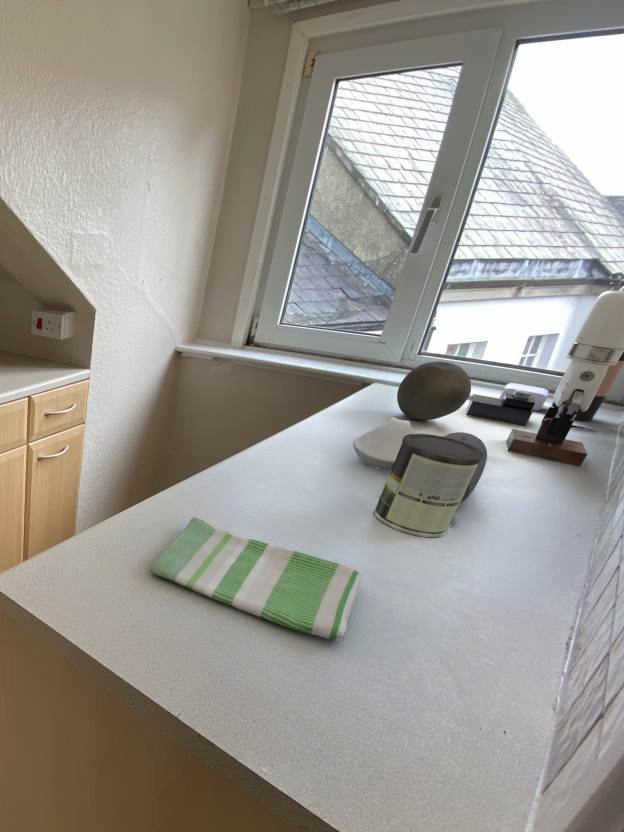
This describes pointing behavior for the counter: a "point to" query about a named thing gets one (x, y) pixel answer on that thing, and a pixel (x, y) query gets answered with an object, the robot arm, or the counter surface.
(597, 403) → the travel mug
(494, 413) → the toaster
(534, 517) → the counter surface
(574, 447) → the brown wooden block
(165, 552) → the dish towel
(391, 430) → the spoon rest
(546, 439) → the browning knob
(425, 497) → the coffee can
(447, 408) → the dark brown rounded piece
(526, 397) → the toaster lever
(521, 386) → the charger
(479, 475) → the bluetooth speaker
